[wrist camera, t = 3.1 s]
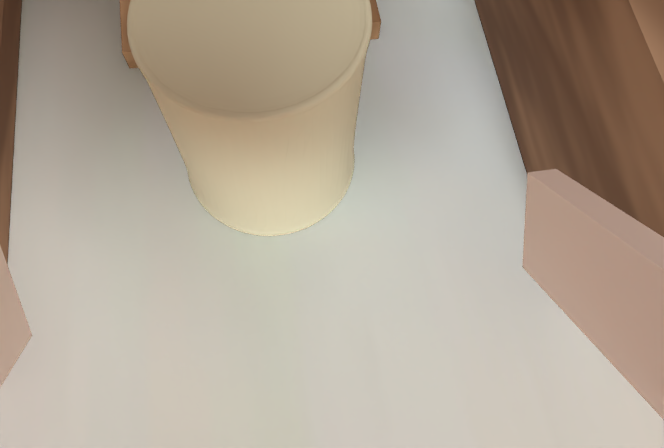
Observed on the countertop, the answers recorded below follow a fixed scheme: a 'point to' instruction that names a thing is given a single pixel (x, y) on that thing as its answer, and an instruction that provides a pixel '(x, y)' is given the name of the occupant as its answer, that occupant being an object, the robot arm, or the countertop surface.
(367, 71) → the countertop surface
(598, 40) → the rack
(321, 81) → the can
